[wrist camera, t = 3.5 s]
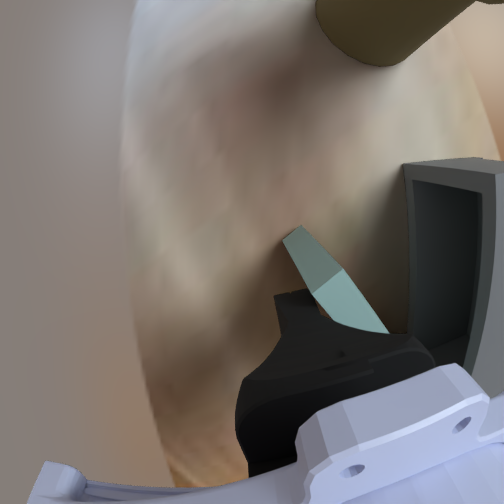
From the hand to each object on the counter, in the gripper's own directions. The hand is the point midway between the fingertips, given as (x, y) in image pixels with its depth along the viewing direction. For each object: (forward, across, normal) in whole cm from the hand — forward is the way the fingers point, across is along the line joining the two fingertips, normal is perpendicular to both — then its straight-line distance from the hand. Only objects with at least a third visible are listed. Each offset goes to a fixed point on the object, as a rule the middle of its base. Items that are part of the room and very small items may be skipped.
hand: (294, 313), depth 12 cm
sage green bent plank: (+4, -4, +3) cm, 6 cm away
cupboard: (+4, -11, +2) cm, 11 cm away
